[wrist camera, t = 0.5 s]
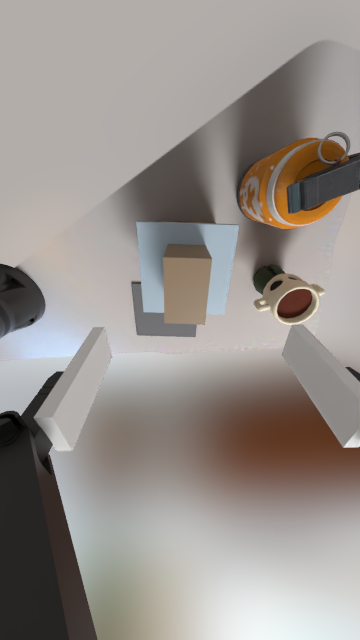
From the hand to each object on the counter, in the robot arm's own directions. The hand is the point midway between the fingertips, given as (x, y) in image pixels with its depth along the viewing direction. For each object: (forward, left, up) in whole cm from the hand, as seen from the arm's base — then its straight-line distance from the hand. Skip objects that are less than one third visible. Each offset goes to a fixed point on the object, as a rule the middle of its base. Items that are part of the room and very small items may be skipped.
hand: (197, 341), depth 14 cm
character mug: (+17, -5, -30) cm, 35 cm away
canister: (+13, +11, -30) cm, 34 cm away
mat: (-5, -14, -30) cm, 33 cm away
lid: (-1, 0, -18) cm, 19 cm away
